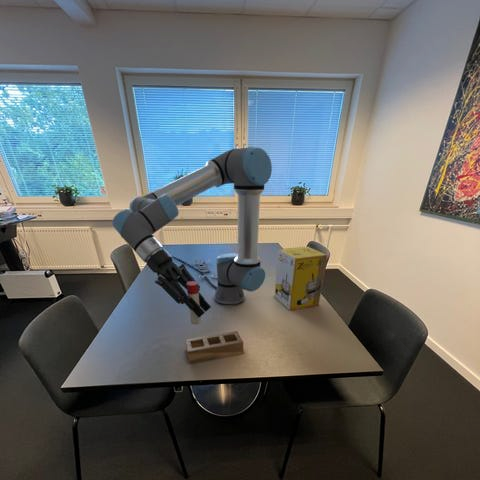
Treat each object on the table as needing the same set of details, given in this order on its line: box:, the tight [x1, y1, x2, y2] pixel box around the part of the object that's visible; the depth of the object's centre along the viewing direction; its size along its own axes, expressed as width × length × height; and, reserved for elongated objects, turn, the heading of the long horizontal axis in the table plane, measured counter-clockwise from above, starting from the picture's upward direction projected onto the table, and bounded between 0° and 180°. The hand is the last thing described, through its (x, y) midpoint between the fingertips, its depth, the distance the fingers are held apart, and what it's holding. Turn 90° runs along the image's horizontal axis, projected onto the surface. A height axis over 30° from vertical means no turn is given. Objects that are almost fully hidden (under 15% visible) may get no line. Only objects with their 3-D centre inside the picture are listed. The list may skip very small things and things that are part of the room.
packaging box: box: [274, 246, 328, 311], centre depth 126 cm, size 16×16×25 cm
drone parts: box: [194, 258, 217, 279], centre depth 171 cm, size 23×35×3 cm, turn 12°
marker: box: [186, 280, 202, 326], centre depth 83 cm, size 4×4×14 cm
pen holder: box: [184, 330, 244, 364], centre depth 93 cm, size 8×20×5 cm, turn 107°
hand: (205, 312), depth 83 cm, fingers closed on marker, 3 cm apart
